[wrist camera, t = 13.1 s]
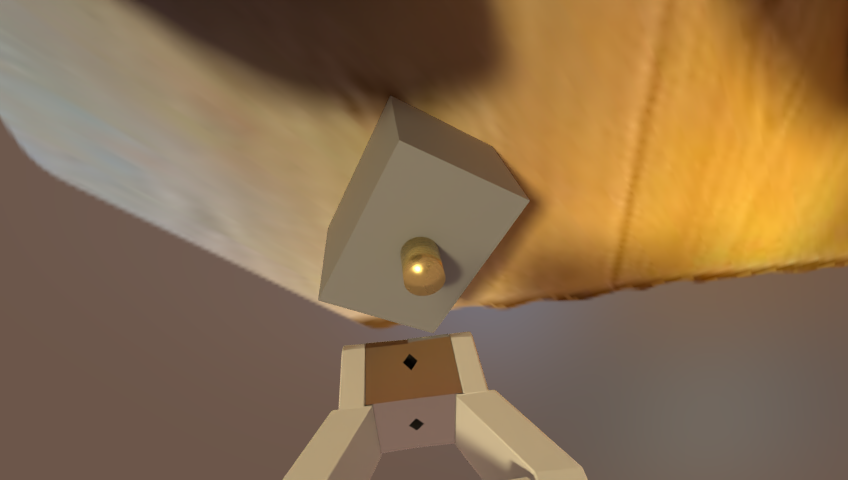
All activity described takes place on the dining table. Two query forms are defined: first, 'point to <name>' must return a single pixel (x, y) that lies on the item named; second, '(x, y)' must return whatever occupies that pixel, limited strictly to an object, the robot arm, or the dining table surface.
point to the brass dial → (422, 266)
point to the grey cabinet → (416, 216)
